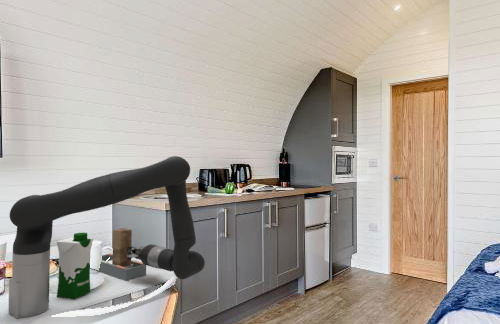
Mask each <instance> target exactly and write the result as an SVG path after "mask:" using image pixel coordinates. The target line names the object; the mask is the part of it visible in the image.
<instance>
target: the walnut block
mask: <svg viewBox="0 0 500 324" xmlns="http://www.w3.org/2000/svg"><path fill="white" fill-rule="evenodd" d="M132 230H133V229H131V228H126V227H123V228H117V229H113V230H112V254H113V257H112V264H113V265H119V266H122V267H126V266H130V265H131V260H132V258H131V259H130V260H128V259H127V247H129V246H132V241H133V240H132V238H133V235H132V234H133V231H132Z"/></svg>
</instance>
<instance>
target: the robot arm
mask: <svg viewBox="0 0 500 324" xmlns="http://www.w3.org/2000/svg"><path fill="white" fill-rule="evenodd" d="M190 173H191V166H190V163H189V162H188V161H187V160H186V159H185V158H183V157H181V156H177V155H173V156H170V157H169V156H168V157H167V158H165V159H163V160H161V161H158V162H156V163H154V164H149V165H147V166H145V167H140V168H133V169H127V170H121V171H116V172H111V173H109V174H104V175H101V176H97V177H94V178H91V179H87V180H85V181H83V182H80V183H77V184H74V185H73V186H70V187H68V188H65V189H62V190H59V191H56V192H51V193H45V194H40V195H39V194H32V195H31V194H30V195H28V196H24V197H22V198H20V199H18V200H17V201H16V202H15V203H13V205H12V206H11V209H10V210H9V220H10V221H11V223H12V224H13V225H14V226H15V227H16V235H15V238H14V241H13V244H12V264H11V265H12V269H11V270H12V271H11V273H12V275H11V278H9V279H8V314H9V315H11V316H12V317H14V318H15V319H19V318H25V317H26V318H27V317H33V316H36V315H39V314H42V313H44V312H46V311H48V310H49V307H50V275H51V274H50V273H51V269H50V267H51V265H50V263H51V260H50V259H51V243H52V237H53V225H54V224H53V221H55V220H58V219H61V218H64V217H67V216H70V215H74V214H77V213H84V212H89V211H92V210H97V209H100V208H105V207H107V206H111V205H115V204H118V203H121V202H123V201H126V200H129V199H131V198H135V197H136V196H139V195H141V194H143V193H145V192H149V191H151V190H152V191H153V190H156V189H159V188H164V189H165V191H166V195H167V199H168V206H169V211H170V213H169V214H170V220H171V221H170V223H171V230H172V236H173V241H174V242H173V243H174V245H173V249H170V248H167V247H165V246H161V245H157V244H152V243H151V244H148V245H146V246H143V245H142V246H139V247H138V246H132V245H131V246H129V247H127V259H128V260H130V259H131V260H132V259H133V258H135V259H136V260H138V261H139V260H140V262H142V263H143V264H145V265H146V267H147V266H148V267H151V268H153V269H154V268H155V269H159V270H164V271H168V272H173V273H174V275H175V277H177V279H180V280H186V279H189V278H191V277H192V276H195V275H196V274H199V273H200V272H201V271H203V270H204V268H205V263H206V261H205V259H204V257H203V255H202V254H201V253H199V252H198V251H194V250H191V248H193V247H194V246H195V245H196V243H197V238H196V232H195V231H196V230H195V225H194V224H195V223H194V219H193V216H192V212H191V208H190V205H189V200H188V196H187V195H188V194H187V179H188V178H189V177H190V175H191V174H190Z"/></svg>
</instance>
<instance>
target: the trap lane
mask: <svg viewBox="0 0 500 324" xmlns="http://www.w3.org/2000/svg"><path fill="white" fill-rule="evenodd" d="M101 255H102V260H101V264H100V268H99V271H98V272H99V273H102V274H105V275H107V276H110V277H114V278H117V279H119V280H121V281H125V282H126V281H130V280H134V279H138V278H140V277H144V276H147V265H145V264H143V263H142V261H139V260H138V261H137V260H132V259H131V265H130V266H126V267H122V266H119V265H113V264H112V257H113V253H106V254H101ZM109 257H110V259H109V260H108V261H107V262H106V260H107V259H108V258H109Z"/></svg>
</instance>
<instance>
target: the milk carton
mask: <svg viewBox="0 0 500 324" xmlns="http://www.w3.org/2000/svg"><path fill="white" fill-rule="evenodd" d="M93 242H94V238H92V237H88V233H87V232H76V233H73V236H72V237H69V238H64V239H60V240H57V241H56V245H57V250H58V282H57V291H56V298H61V299H67V300H73V301H75V300H77V299H80V298H81V297H84V296H86V295H87V294H90V293H91V277H90V276H91V268H90V258H91V249H92V245H93Z"/></svg>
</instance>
